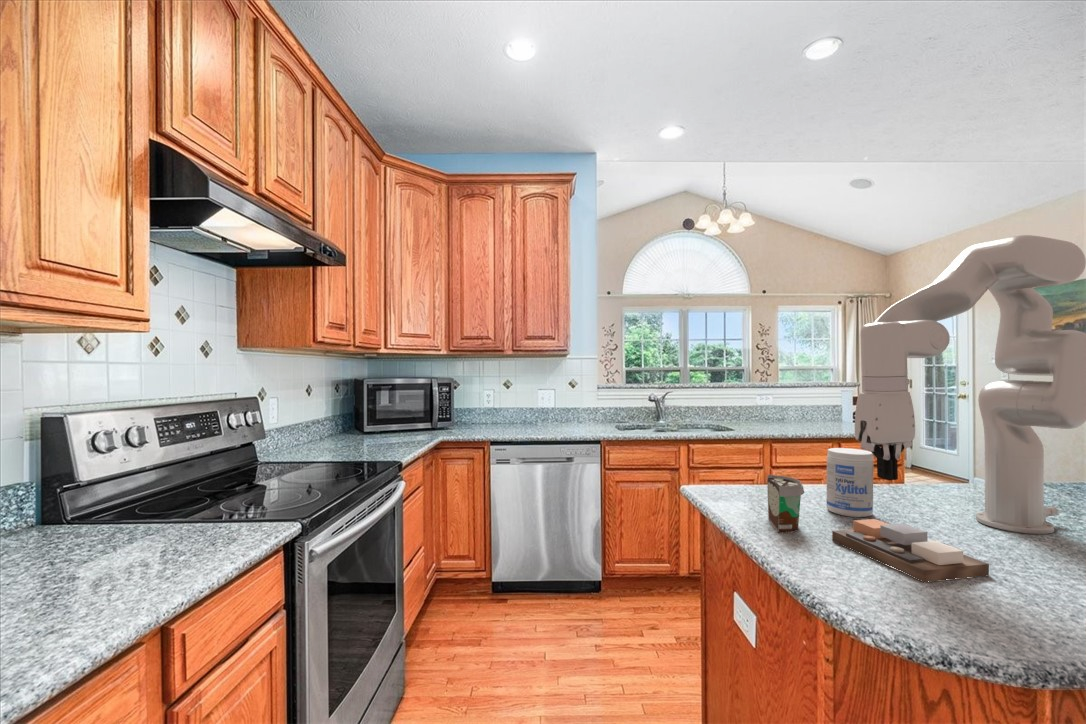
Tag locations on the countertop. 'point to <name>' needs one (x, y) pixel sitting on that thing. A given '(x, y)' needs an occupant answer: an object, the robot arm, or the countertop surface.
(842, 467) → the supplement tub
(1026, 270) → the robot arm
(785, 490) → the food container
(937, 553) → the cream key
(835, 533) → the keypad board
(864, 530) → the terracotta key
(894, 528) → the grey key
